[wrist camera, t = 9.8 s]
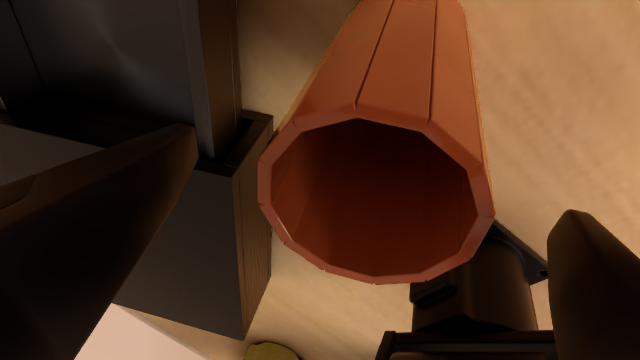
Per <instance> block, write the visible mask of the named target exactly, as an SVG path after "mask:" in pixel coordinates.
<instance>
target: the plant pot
mask: <svg viewBox="0 0 640 360" xmlns="http://www.w3.org/2000/svg"><path fill="white" fill-rule="evenodd" d="M242 360H299V358H298V357H297V356H296V354H295V352H293V351H292V350H290V349H288V348H287V347H283V346H281V345H278V344H275V343H270V342H264V343H262V344H259V345H255V344H252V345H251V346H250V347H249V348H248V350H247V351H246V353H245V355H244V357H243V358H242Z"/></svg>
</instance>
